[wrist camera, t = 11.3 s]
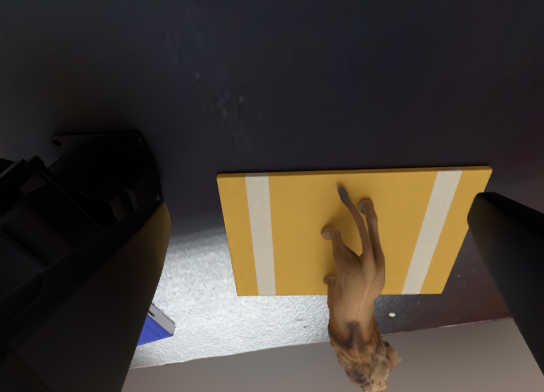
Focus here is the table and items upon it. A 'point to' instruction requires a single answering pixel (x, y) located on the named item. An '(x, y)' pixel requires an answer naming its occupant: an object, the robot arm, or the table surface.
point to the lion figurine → (358, 302)
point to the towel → (346, 225)
